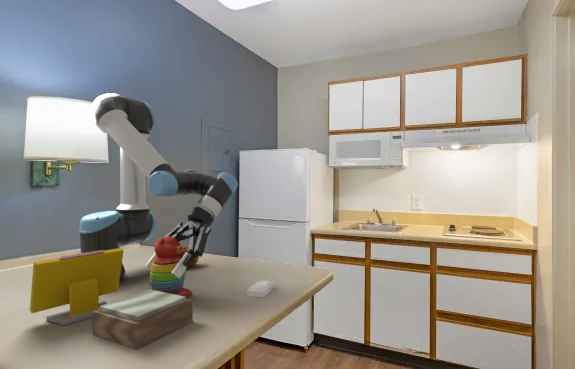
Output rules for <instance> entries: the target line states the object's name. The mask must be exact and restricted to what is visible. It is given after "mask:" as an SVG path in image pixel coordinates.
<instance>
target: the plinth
mask: <svg viewBox="0 0 575 369" xmlns="http://www.w3.org/2000/svg"><path fill="white" fill-rule="evenodd" d="M193 313H194V312H193V300H191V299H188V298H186V297H184V296H179V295H175V294H170V293H165V292H160V291H155V290H152V289H148V288H147V289H146V290H142V291H140V292H136V293H135V294H130V295H128V296H125V297H122V298H119V299H117V300H113V301H111V302H107V304H104V305H101V306H99V309H98V310H95V311H92V318H91V319H92V322H91V323H92V335H94V336H97V335H98V337H100V336H101V337H100V338H103V337H105V338H107V339H106V340H108V339H110V340H109V341H111V340H113V341H112V342H114V341H116V342H115V343H117V342H119V343H118V344H120V343H121V345H123V344H124V346H126V345H127V346H126V347H129V348H132V349H136V350H139V349H141V348H143V347H144V346H147V345H149V344H151V343H153V342H154V341H157V340H159V339H161V338H162V337H165V336H167V335H169V334H171V333H172V332H174V331H177V330H178V329H181V328H182V327H184V326H186V325H188V324H191V323H192V322H193V319H194V318H193ZM105 338H104V339H105Z"/></svg>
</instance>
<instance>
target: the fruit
mask: <svg viewBox="0 0 575 369" xmlns="http://www.w3.org/2000/svg"><path fill="white" fill-rule="evenodd" d="M188 250H189V245H186V246H182V250H181V252H180V253H179V255H178V256H179V257H180V258H182V257H183V256H184V254H185V253H186V252H187V253H188V254H189V252H188ZM199 259H200V257H199V256H197V257H196V258H194V259H193V261H192V262H191V263H190V265H189V266H188V267H187V268H186V269H189V268H192V267H194V266H195V265H196V264H197V263H198V262H199Z"/></svg>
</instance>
